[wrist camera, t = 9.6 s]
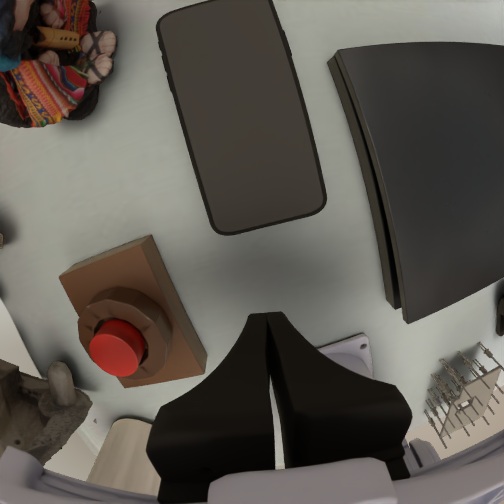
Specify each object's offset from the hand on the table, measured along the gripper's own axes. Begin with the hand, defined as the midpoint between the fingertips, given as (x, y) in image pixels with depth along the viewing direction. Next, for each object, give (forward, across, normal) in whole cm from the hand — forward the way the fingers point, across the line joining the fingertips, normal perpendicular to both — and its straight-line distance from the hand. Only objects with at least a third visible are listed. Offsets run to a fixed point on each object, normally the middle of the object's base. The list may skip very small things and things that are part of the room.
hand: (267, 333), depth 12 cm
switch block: (+8, +9, +3) cm, 13 cm away
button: (+5, +9, +3) cm, 11 cm away
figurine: (+8, +10, -15) cm, 20 cm away
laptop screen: (+6, -18, -7) cm, 20 cm away
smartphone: (+8, 0, -10) cm, 13 cm away
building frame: (+8, -19, +15) cm, 26 cm away
